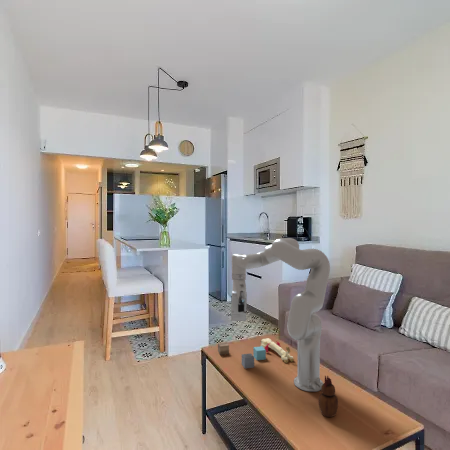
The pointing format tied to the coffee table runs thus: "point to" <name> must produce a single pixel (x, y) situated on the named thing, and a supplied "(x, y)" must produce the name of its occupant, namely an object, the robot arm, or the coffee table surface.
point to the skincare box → (234, 309)
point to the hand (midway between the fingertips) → (238, 309)
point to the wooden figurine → (328, 399)
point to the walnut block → (223, 348)
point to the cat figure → (277, 349)
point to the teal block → (259, 353)
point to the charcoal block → (247, 360)
